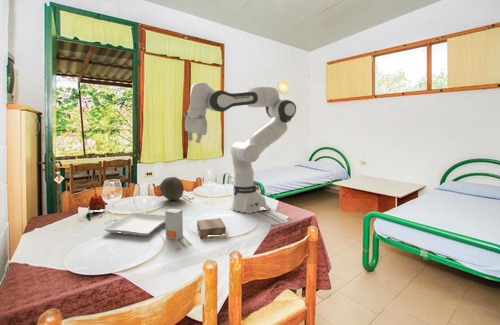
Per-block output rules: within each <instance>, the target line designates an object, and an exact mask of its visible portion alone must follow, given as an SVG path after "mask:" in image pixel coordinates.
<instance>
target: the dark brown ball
mask: <svg viewBox="0 0 500 325" xmlns="http://www.w3.org/2000/svg"><path fill="white" fill-rule="evenodd" d="M184 189H185V188H184V184H183V182H182V181H181V179H180V178H178V177H176V176H171V177H166V178H164V179H163V180H162V181H161V183H160V186H159V190H160V193H161V195H162V196H163V197H164V198H166V199H167V200H169V201H177V200H179V199H181V198H182V196H183V194H184Z"/></svg>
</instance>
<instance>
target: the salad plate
mask: <svg viewBox="0 0 500 325" xmlns="http://www.w3.org/2000/svg"><path fill="white" fill-rule="evenodd" d="M163 224H166V223H165V215H161V214H152V213H141V212H139V213H138V212H132V213H130V214H128V215H126V216H125V217H122V218H121V219H119V220H117V221H115V222H113V223H111V224H110V225H108V226H105V228H103V229H104V231H105V232H108V233H110V234H111V233H112V234H118V232H121V233H126V234H125V235H127V234H132V235H131V236H137V235H139V236H140V237H147V236H149V235H151V234H152V233H153V232H155V231H156V230H157V229H158V228H160V227H161V226H162V225H163ZM134 230H137V231H149V233H139V232H132V231H134ZM151 232H152V233H151Z"/></svg>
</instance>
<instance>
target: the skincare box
mask: <svg viewBox="0 0 500 325" xmlns="http://www.w3.org/2000/svg"><path fill="white" fill-rule="evenodd" d="M164 216H165V223H164V224H165V238H166V239H171V240H176V241H178V240H180V239H181V238H183V236H184V229H183V228H184V227H183V224H184V223H183V210H182V209H178V208H169V209H167V210H165V212H164Z"/></svg>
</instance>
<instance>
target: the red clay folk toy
mask: <svg viewBox="0 0 500 325" xmlns="http://www.w3.org/2000/svg"><path fill="white" fill-rule="evenodd" d="M96 187H97V185H96V184H93V187H91V186H90V190H93V189H94V196H91V197H90V199H89V202H88V209H90V210H100V209H106V203H105V202H106V201H105V200H104V198H102V197H103V196H102V195H98V194H97V190H96ZM103 200H104V201H103ZM90 210H89V211H90Z"/></svg>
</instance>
